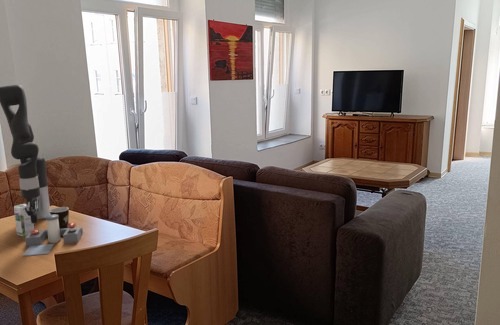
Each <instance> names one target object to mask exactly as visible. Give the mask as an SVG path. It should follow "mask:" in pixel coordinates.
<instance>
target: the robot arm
mask: <svg viewBox="0 0 500 325" xmlns="http://www.w3.org/2000/svg"><path fill="white" fill-rule="evenodd" d="M0 106H1V109H2V111H3V112H4V115H5V118H6V120H7V124H8V127H9V130H10V134H11V137H12V145H11V150H10V154H11V156H12V158H13V159H15V160H19V161H20V165H18V167H17V168H18V169H17V170H18V177H19V189H20V195H21V196H20V197H21V198H22V199H25V204H26V206H27V207H25V211H26V213H27V214H28V216H31V223H34V224H37V223H38V220H44V219H46V218H45V217H46V216H48V215H51V214H50V210H51V206H50V204H51V203H50V197H49V189H48V177H47V176H48V175H47V174H48V173H47V162H46V160H45V158H44V157H43V156H39V151H40V150H39V146H38V144H37V143H36V142H34V139H35V135H34V132H33V129H32V125H31V124H30V123H29V121H28V104H27V96H26V92H25V89H24V87H23V85H20V84H13V85H5V86H0ZM11 106H18V109H17V111H16V112H15V110H14V109H13V108H12V107H11Z"/></svg>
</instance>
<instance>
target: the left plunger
mask: <svg viewBox="0 0 500 325" xmlns="http://www.w3.org/2000/svg"><path fill="white" fill-rule="evenodd" d="M39 230H40V229H35V228H34V230H31V231H30V233H31V235H32V236H33V235H38V233H39Z"/></svg>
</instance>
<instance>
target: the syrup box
mask: <svg viewBox="0 0 500 325" xmlns="http://www.w3.org/2000/svg"><path fill="white" fill-rule="evenodd" d="M25 207H27V206H26V203H21V204H17V205H14V206H13V212H14V218H15V219H14V220H15V221H14V222H15V229H16V235H17V236H20V237H23V238H25V237H26V236H27V235H28V234H29V233H30V231H31V230H34V229H35V226H34V224H35V223H31V216H28V214H27V213H26V211H25Z"/></svg>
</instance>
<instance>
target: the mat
mask: <svg viewBox="0 0 500 325" xmlns="http://www.w3.org/2000/svg"><path fill="white" fill-rule="evenodd" d="M54 245H55V243H50V244H49V243H48V244H41V245H35V246H28V247H27V249H26V250H25V252H24V253H22V257H30V256H31V257H32V256H40V255H41V256H42V255H49V253H50V251H51V250H52V249H53V247H54Z"/></svg>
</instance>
